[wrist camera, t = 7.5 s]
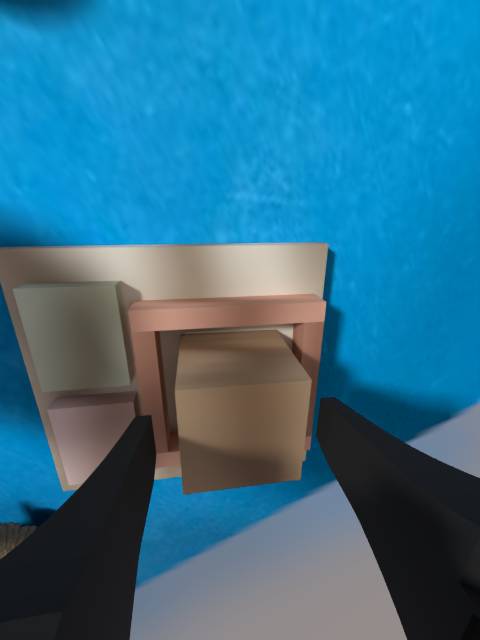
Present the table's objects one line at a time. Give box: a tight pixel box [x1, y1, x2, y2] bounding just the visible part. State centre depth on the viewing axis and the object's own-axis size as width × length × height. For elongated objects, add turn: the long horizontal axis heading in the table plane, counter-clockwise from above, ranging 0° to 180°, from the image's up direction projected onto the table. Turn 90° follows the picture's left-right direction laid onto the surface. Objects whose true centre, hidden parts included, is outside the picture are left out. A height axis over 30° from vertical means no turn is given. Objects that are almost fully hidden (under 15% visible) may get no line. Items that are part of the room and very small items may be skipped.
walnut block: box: [175, 329, 312, 495], centre depth 13 cm, size 5×5×5 cm
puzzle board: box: [0, 242, 328, 491], centre depth 15 cm, size 15×14×2 cm
